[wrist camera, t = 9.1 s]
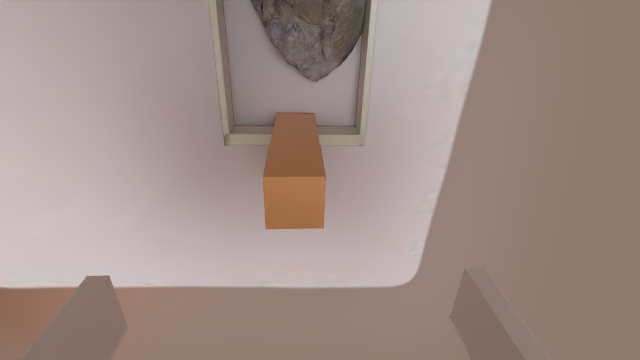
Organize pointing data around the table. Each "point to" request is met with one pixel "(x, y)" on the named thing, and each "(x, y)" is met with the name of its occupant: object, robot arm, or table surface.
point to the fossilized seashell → (313, 31)
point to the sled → (293, 137)
